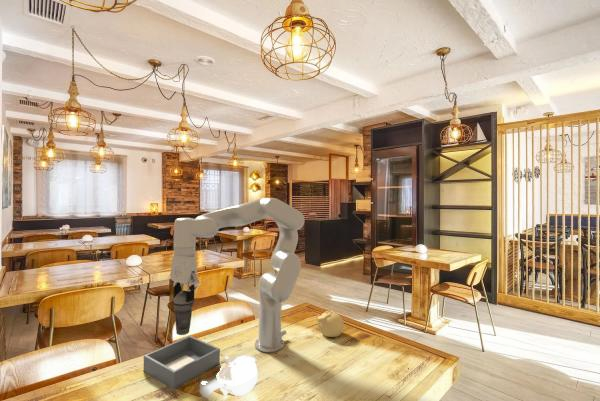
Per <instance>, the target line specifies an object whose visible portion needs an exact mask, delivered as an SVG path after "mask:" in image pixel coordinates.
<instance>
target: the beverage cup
mask: <svg viewBox="0 0 600 401" xmlns="http://www.w3.org/2000/svg"><path fill="white" fill-rule="evenodd" d="M180 286H181V288H182V291H181V292H179V293H178V294H177V295H176V296H175V298H174V299H173V301H172V302H173V308H174V318H175V319H174V320H175V331H176V334H177V335H178V336H186V335H188V334H189V333H190V327H191V321H192V315H193V314H192V312H193V307H194V302H195V299H194V300H193V301H190V302H186V291H187V290H184V284H181V285H180Z"/></svg>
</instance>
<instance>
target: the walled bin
mask: <svg viewBox="0 0 600 401" xmlns="http://www.w3.org/2000/svg"><path fill="white" fill-rule="evenodd" d="M220 356H221V348H220V347H217V346H214V345H212V344H210V343H207V342H206V341H203V340H201V339H199V338H197V337H194V336H193V335H188V336H186V337H184V338H182V339H179V340H177V341H174V342H172V343H170V344H167V345H165V346H162V347H161V348H160V347H159V348H158V349H155V350H154V351H152V352H149V353H147V354H144V355H143V373H145V374H146V375H148V376H149V377H151V378H153V379H154V380H156V381H158V382H160V383H161V384H163V385H164V386H166V387H168V388H169V389H171V390H173V391H175V390H176V389H179V388H181V387H182V386H184V385H185V384H187V383H188V382H191V381H193V380H194V379H196V378H198V377H199V376H201V375H203V374H205V373H206V372H209V371H210V370H211V369H213V368H215V367H217V366H219V365H220V360H221V359H220V358H221V357H220Z"/></svg>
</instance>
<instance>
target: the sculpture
mask: <svg viewBox="0 0 600 401" xmlns="http://www.w3.org/2000/svg"><path fill="white" fill-rule="evenodd" d="M316 320H317V322H316V323H317V327H318V328H319V331H320V333H321V334H322V335H323V336H324V337H328V338H337V337H339V336H340V335H342V333H343V331H344V326H345V325H344V321H343V320H344V319H343V318H342V317H341V315H340V314H338V313H337V312H335V310H331V311H329V310H325V311H324V312H323V313H322V314H321V315H319V316H318V317H317V319H316Z"/></svg>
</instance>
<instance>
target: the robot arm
mask: <svg viewBox="0 0 600 401" xmlns="http://www.w3.org/2000/svg"><path fill="white" fill-rule="evenodd" d="M265 219H271V220H273V221H274V222H275V224H276V225H277V227H278V231H279V235H278V236H279V237H278V240H277V242H276V244H275V248H274V250H273V253H272V255H271V258H270V261H269V264H270V267H272V269H273V270H275V271H277V273H275V272H265V273H263V274H262V275H261V276H260V277H259V280H258V284H257V285H258V286H257V287H258V297H259V312H258V316H259V318H258V339H256V341H255V342H254V347H255V348H256V350H258V351H260V352H263V353H275V352H278V351H281V350H282V349H283V348H284V346H285V342H284V340H283V339H282V337H283V336H285V335H286V334H287V330H285V329H283V330H282V306H283V304H282V303H283V302H285V301H287V300H288V299H289V298H290V296H291V295H292V294H293V291H294V288H295V287H296V286H295V285H296V283H297V281H298V278H299V275H300V272H301V269H302V261H301V259H300V257H299V256H298V255H297V254H295V251H296V248H297V245H298V243H299V242H298V241H299V234H298V231H299V230H300V229H302V228H303V227H304V225H305V216H304V215H303V213H302V212H301V211H299V210H298V209H296V208H295V207H293V206H291V205H289V204H288V203H286V202H284V201H282V200H280V199H278V198H275V197H267V196H266V197H260V198H257V199H254V200H251V201H249V202H245V203H242V204H238V205H234V206H231V207H227V208H222V209H219V210H214V211H211V212H209V213H204V214H201V215H198V216H197V217H195V218H191V217H179V218H176V219H175V220H174V225H173V226H174V228H173V229H174V230H173V231H174V232H173V254H172V257H171V264H170V274H169V277H170V280H171V282H172V287H173V298H174V299H175V296H176V295H177V294H178V293H179V292H181V291H182V288H181V284H183V285H186V290H185V291H186V302H190V301H193V300H194V301H195V291H196V289H197V287H198V285H200V279H199V278H198V265H197V257H196V246H197V245H196V240H197V238H208V239H209V238H212V237H215V236H216V235H217V234H218V232H219V229H222V228H223V229H224V228H227V227H242V226H246V225H249V224H252V223H255V222H257V221H261V220H265ZM190 284H191V285H190Z"/></svg>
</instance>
